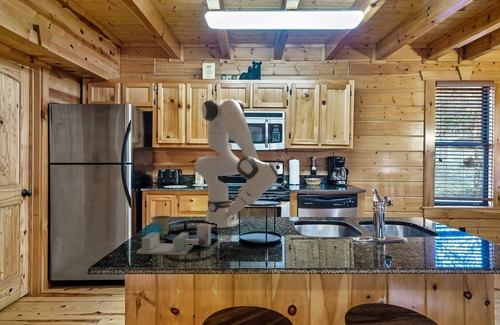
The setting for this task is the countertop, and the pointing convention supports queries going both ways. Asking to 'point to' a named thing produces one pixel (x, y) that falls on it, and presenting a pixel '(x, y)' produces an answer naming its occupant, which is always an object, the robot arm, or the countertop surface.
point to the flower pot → (162, 222)
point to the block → (204, 233)
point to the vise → (159, 246)
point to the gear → (153, 230)
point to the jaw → (186, 241)
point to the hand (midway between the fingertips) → (225, 216)
